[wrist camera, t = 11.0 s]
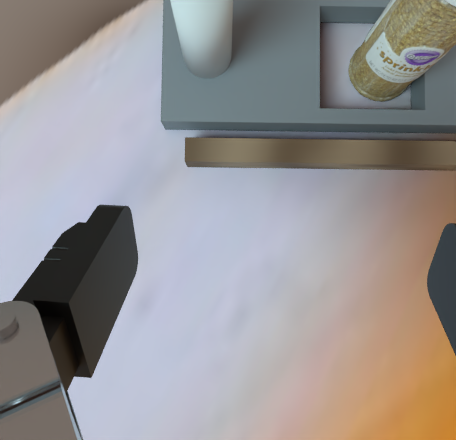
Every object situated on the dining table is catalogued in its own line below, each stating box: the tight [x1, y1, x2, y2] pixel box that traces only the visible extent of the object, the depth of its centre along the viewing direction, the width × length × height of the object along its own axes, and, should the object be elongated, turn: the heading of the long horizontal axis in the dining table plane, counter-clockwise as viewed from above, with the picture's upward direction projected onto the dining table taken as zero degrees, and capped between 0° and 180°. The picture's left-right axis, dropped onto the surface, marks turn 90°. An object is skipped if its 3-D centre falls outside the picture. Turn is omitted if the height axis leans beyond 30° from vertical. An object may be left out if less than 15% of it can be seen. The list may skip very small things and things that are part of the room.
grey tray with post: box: [161, 0, 456, 133], centre depth 24 cm, size 22×9×11 cm, turn 89°
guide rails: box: [185, 138, 456, 170], centre depth 29 cm, size 30×14×2 cm, turn 89°
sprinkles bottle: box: [349, 0, 456, 102], centre depth 23 cm, size 5×5×14 cm
